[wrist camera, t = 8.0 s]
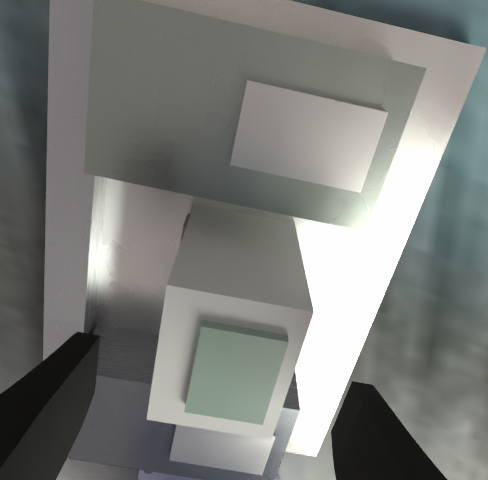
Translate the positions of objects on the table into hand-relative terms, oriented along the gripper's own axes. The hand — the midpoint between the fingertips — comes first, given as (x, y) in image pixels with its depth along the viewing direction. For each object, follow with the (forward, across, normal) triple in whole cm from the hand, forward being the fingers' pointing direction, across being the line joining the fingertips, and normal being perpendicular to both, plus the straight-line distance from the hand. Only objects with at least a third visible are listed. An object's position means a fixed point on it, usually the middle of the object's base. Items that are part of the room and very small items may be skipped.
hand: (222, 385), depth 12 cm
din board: (+8, 0, 0) cm, 8 cm away
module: (+6, 0, 0) cm, 7 cm away
